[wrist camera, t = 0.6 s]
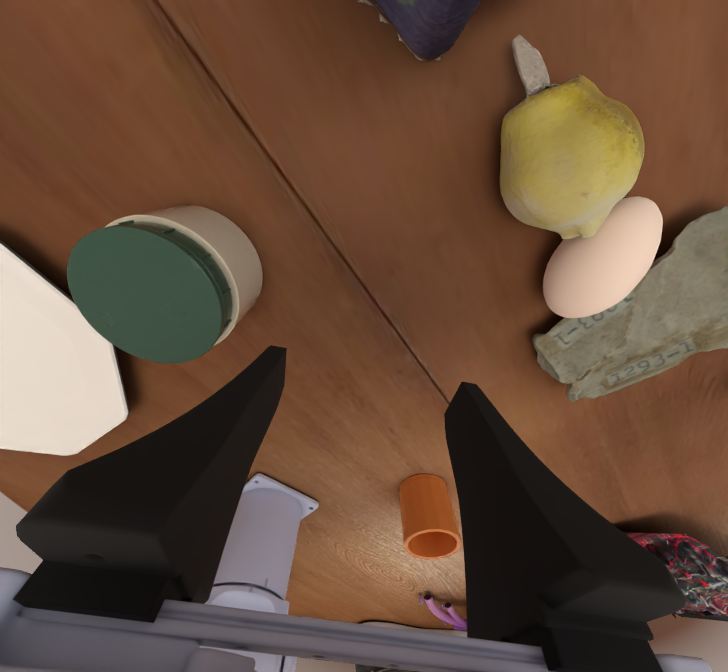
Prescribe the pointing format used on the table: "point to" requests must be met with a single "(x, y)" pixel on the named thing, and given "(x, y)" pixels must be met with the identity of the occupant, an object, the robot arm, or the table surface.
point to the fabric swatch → (692, 573)
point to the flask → (426, 23)
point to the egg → (604, 260)
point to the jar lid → (150, 291)
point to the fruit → (565, 151)
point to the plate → (52, 367)
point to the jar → (216, 251)
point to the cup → (428, 518)
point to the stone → (648, 318)
